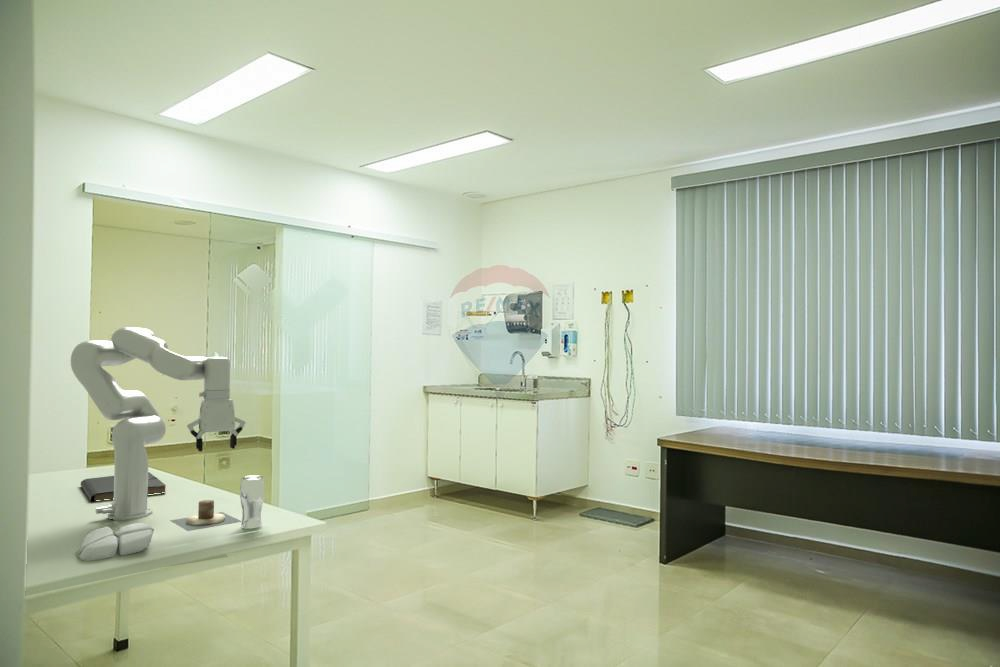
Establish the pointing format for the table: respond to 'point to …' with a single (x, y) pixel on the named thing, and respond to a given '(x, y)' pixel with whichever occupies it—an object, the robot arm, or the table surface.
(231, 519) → the mat
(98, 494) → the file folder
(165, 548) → the table surface
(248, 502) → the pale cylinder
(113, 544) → the lung model
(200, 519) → the lid
